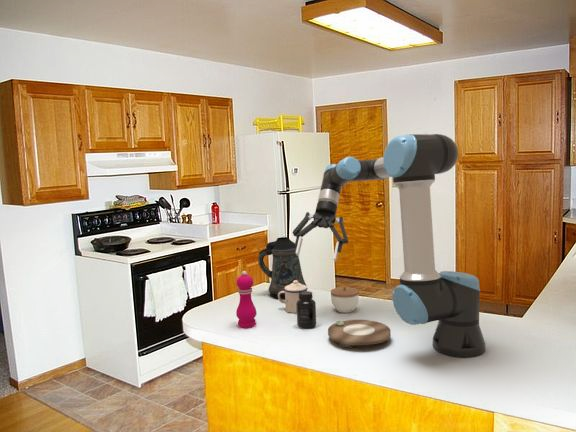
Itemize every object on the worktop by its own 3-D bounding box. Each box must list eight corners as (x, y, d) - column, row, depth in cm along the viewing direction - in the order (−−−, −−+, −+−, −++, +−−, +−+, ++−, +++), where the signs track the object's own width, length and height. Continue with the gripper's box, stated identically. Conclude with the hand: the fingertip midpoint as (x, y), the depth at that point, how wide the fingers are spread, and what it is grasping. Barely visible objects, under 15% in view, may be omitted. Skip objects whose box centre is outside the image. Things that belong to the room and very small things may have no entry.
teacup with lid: (310, 307, 197) (309, 278, 195) (304, 314, 188) (303, 284, 187) (282, 305, 200) (281, 277, 199) (274, 312, 192) (273, 283, 190)
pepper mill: (254, 329, 174) (251, 273, 172) (234, 328, 176) (231, 273, 173) (259, 322, 181) (256, 268, 179) (240, 321, 183) (237, 268, 180)
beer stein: (314, 295, 212) (312, 238, 209) (273, 304, 202) (271, 243, 199) (294, 287, 226) (292, 233, 223) (256, 294, 217) (253, 238, 214)
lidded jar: (325, 311, 190) (324, 287, 189) (341, 304, 198) (340, 281, 197) (349, 316, 183) (348, 292, 182) (364, 309, 192) (364, 285, 190)
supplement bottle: (320, 325, 176) (319, 292, 174) (307, 330, 171) (306, 296, 169) (305, 321, 180) (304, 289, 179) (293, 326, 175) (291, 293, 174)
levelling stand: (402, 336, 162) (402, 324, 161) (368, 357, 147) (368, 343, 146) (351, 324, 175) (350, 313, 174) (315, 341, 160) (315, 329, 160)
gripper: (361, 212, 183) (351, 266, 175) (296, 204, 190) (284, 255, 181) (360, 203, 176) (349, 258, 168) (293, 195, 183) (279, 248, 175)
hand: (315, 257), depth 175 cm, fingers open, 13 cm apart
